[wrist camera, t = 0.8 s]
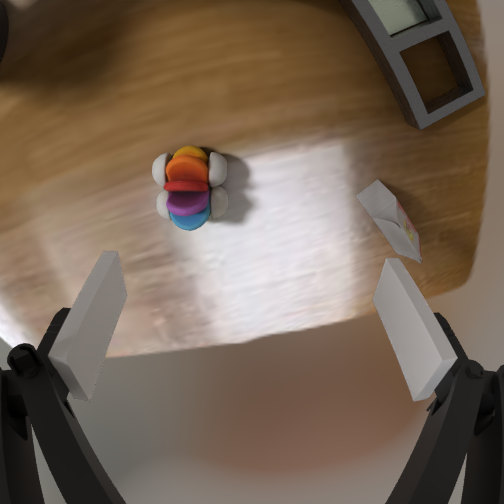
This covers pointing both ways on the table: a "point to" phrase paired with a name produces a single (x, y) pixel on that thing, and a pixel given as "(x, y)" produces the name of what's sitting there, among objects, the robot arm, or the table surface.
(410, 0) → the rack
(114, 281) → the robot arm
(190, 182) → the rainbow disc toy
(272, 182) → the table surface
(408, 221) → the white printed box
